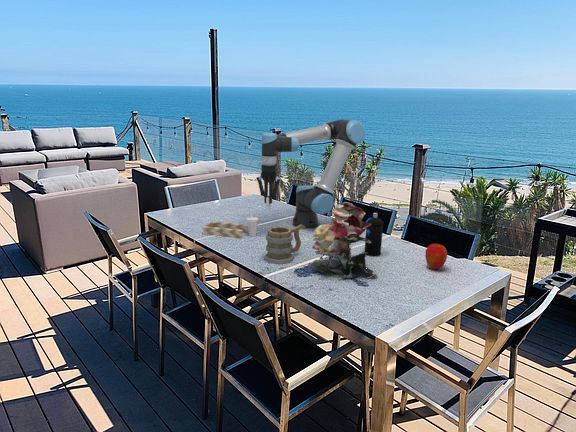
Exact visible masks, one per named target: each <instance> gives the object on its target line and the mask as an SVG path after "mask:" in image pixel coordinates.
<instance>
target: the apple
mask: <svg viewBox="0 0 576 432" xmlns="http://www.w3.org/2000/svg"><path fill="white" fill-rule="evenodd" d="M447 258H448V250H447V249H446V246H444V245H442V244H439V243H431V244H430V245H428V246H427V247H426V249H425V261H426V264H427V267H428V268H429V269H430V270H433V271H436V270H439V269H441V268H443V267H444V266H445V263H446V262H447Z"/></svg>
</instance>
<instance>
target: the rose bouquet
mask: <svg viewBox="0 0 576 432" xmlns="http://www.w3.org/2000/svg"><path fill="white" fill-rule="evenodd" d="M331 211H332V214H333V216H334V217H332V218H331V222H330V223H327V224H320V225H318V226H317V227H316V228H315V229H314V230H313V239H312V240H313V241H314V244H313V245H312V249H314V253H315V254H316V255H320V257H319V259H315V260H313V261H312V263H311V265H310V266H311V267H312V268H313V270H316V271H318V272H322V274H324V275H325V278H329V277H330V276H332V277H333V278H334V279H335V280H338V281H343V280H344V279H345V278H356V279H357V278H358V275H355V274H353V273H352V271H353V269H355V270H359V271H364V272H365V273H366V274H369V275H370V276H368V277H367V279H377V278H378V276H377V275H376V273H375V272H374V271H373V270H372V269H370V268H369V267H368V266H367V265H366V256H367V255H366V252H364V251H363V252H361V253H358V254H356V255H354V256H352V251H351V250H352V249H353V248H352V247H353V246H351V244H355V243H357V242H364V243H365V242H367V243H371V242H370V241H369V240H368V239H366V238H365V237H363V236H361V235H363V233H365V234H366V233H371V232H366V228H368V226H371V223H366V222H364V221H363V219H364V217H365V215H366V212H365V211H364V209H362V208H361V207H358V206H356V205H353V203H351V202H347V201H344V202H342V203H339V202H338V204H337V205H336V206H335V208H332V209H331ZM350 246H351V247H350ZM315 250H316V251H315ZM321 255H322V256H321ZM324 256H326V257H329V258H328V259H325V260H324ZM336 259H337V260H336ZM366 266H367V267H366ZM341 267H342V269H341ZM352 268H353V269H352ZM366 268H367V269H366ZM346 274H347V275H346Z"/></svg>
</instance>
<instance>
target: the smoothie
mask: <svg viewBox="0 0 576 432" xmlns="http://www.w3.org/2000/svg"><path fill="white" fill-rule="evenodd" d="M258 221H259V217H257V216H253V210H252V209H251V210H250V216H249V217H248V216H247V218H246V223H247V224H246V225H248V231H249V233H248V236H249V237H251V238H254V237H257V230H258V229H257V228H258Z"/></svg>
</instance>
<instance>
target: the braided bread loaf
mask: <svg viewBox="0 0 576 432" xmlns="http://www.w3.org/2000/svg"><path fill="white" fill-rule="evenodd" d="M244 234H249V231H248V224H244V223H243V224H242V223H233V222H232V223H231V222H221V221H214V220H213V221H211V222H209V223H207V224H206V225H204V226H202V235H206V236H215V237H224V238H226V237H227V238H234V239H243V237H244Z"/></svg>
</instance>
